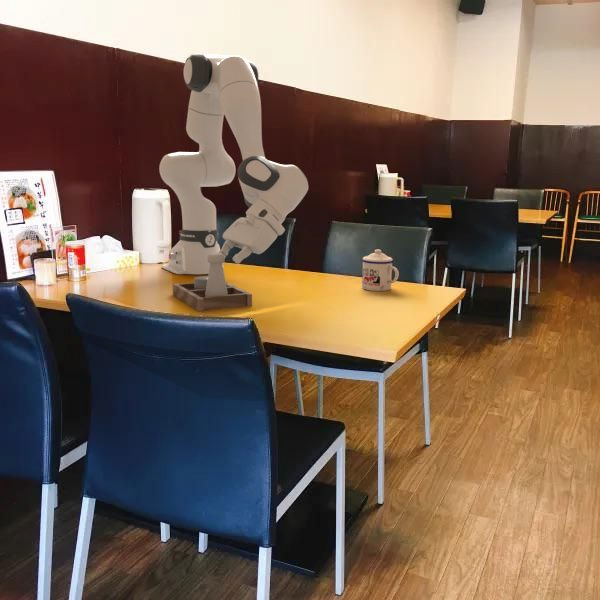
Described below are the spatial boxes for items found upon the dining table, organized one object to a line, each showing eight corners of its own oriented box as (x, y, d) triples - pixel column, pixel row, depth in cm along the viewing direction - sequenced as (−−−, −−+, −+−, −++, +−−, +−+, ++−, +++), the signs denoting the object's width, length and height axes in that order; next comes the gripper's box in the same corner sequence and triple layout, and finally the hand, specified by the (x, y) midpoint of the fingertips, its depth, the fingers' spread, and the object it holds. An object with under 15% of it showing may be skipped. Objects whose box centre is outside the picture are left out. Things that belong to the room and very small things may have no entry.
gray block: (190, 296, 167) (189, 278, 165) (207, 293, 170) (207, 275, 169) (202, 299, 163) (202, 281, 162) (219, 296, 166) (219, 278, 165)
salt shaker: (223, 307, 155) (222, 255, 152) (201, 305, 156) (200, 254, 153) (231, 302, 161) (230, 252, 158) (210, 300, 162) (209, 251, 159)
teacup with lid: (354, 288, 185) (356, 249, 183) (373, 284, 192) (374, 246, 189) (387, 294, 177) (389, 254, 175) (405, 290, 184) (408, 251, 181)
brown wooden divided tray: (173, 298, 168) (172, 283, 167) (221, 293, 175) (221, 279, 174) (199, 315, 151) (198, 299, 150) (252, 309, 157) (252, 294, 156)
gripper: (238, 207, 167) (204, 245, 165) (272, 213, 150) (234, 256, 147) (253, 223, 170) (220, 260, 168) (288, 231, 153) (251, 273, 151)
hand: (227, 258), depth 158 cm, fingers open, 8 cm apart
